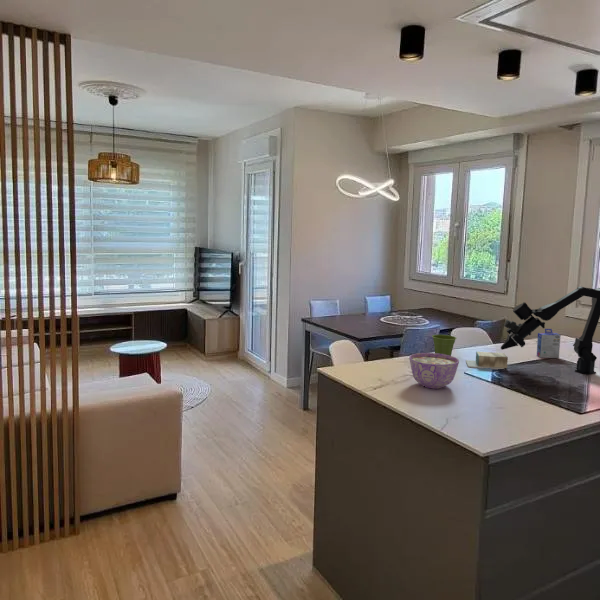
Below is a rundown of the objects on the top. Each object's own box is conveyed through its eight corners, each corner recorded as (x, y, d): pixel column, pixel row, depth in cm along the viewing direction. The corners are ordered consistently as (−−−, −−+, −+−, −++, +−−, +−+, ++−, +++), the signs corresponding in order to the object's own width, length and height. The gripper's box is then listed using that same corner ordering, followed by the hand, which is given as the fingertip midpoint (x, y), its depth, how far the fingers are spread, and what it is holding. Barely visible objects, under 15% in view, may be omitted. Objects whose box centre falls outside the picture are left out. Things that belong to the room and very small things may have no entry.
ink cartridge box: (554, 355, 272) (556, 328, 270) (559, 358, 267) (562, 330, 265) (535, 355, 273) (537, 328, 271) (540, 357, 267) (542, 330, 265)
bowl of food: (422, 394, 203) (424, 365, 202) (399, 380, 222) (400, 353, 221) (467, 391, 209) (469, 363, 207) (441, 377, 228) (442, 351, 226)
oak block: (504, 353, 252) (476, 351, 254) (507, 357, 243) (478, 355, 245) (503, 363, 252) (475, 361, 255) (507, 367, 243) (477, 366, 246)
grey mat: (500, 363, 254) (500, 362, 254) (504, 369, 242) (504, 368, 242) (465, 361, 257) (465, 360, 257) (468, 367, 246) (468, 366, 246)
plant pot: (456, 362, 255) (457, 339, 253) (431, 360, 257) (432, 338, 256) (454, 356, 266) (455, 335, 265) (430, 355, 269) (431, 333, 267)
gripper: (512, 311, 253) (486, 332, 257) (519, 317, 235) (492, 340, 239) (528, 328, 252) (502, 349, 256) (536, 336, 234) (509, 358, 238)
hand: (501, 348), depth 247 cm, fingers closed
